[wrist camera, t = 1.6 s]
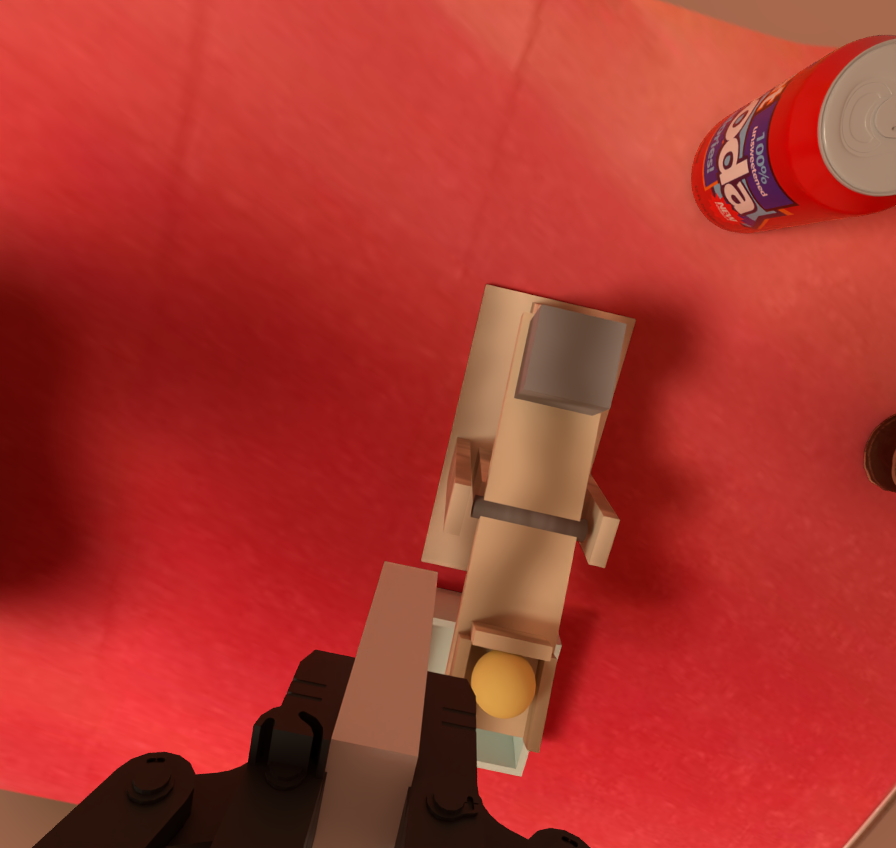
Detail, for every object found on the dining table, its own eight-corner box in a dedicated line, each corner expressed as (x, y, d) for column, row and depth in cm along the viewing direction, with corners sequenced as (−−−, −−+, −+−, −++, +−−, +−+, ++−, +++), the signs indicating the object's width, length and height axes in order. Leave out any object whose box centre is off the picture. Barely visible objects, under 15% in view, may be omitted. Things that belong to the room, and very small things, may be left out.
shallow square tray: (379, 705, 52) (371, 745, 48) (408, 581, 49) (403, 610, 45) (516, 734, 52) (521, 776, 48) (553, 612, 50) (561, 645, 45)
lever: (427, 712, 36) (429, 745, 31) (513, 314, 39) (526, 291, 34) (540, 735, 36) (559, 772, 32) (617, 339, 39) (645, 319, 34)
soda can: (790, 237, 42) (962, 216, 28) (677, 231, 42) (789, 206, 28) (812, 115, 40) (1010, 23, 26) (695, 108, 40) (825, 13, 26)
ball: (464, 686, 36) (465, 725, 32) (477, 631, 35) (480, 664, 32) (523, 698, 36) (530, 739, 32) (537, 643, 35) (547, 679, 32)
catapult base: (421, 556, 49) (409, 637, 38) (485, 284, 43) (492, 286, 33) (553, 585, 49) (579, 673, 38) (633, 318, 44) (689, 332, 33)
